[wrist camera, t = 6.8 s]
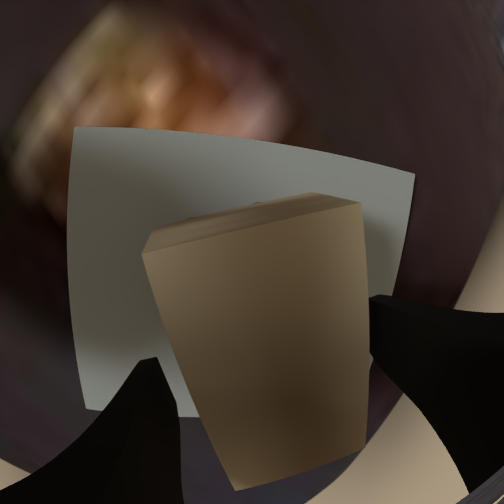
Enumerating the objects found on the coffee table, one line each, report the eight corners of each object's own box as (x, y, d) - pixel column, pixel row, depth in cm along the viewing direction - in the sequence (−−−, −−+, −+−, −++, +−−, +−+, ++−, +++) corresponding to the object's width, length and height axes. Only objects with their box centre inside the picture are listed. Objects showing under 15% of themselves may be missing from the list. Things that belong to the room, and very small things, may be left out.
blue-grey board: (88, 399, 15) (86, 408, 14) (80, 128, 12) (74, 126, 11) (351, 396, 18) (357, 404, 18) (405, 173, 15) (415, 174, 14)
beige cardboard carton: (213, 387, 15) (235, 490, 9) (161, 212, 12) (141, 254, 6) (306, 361, 16) (364, 447, 10) (280, 185, 13) (360, 202, 7)
